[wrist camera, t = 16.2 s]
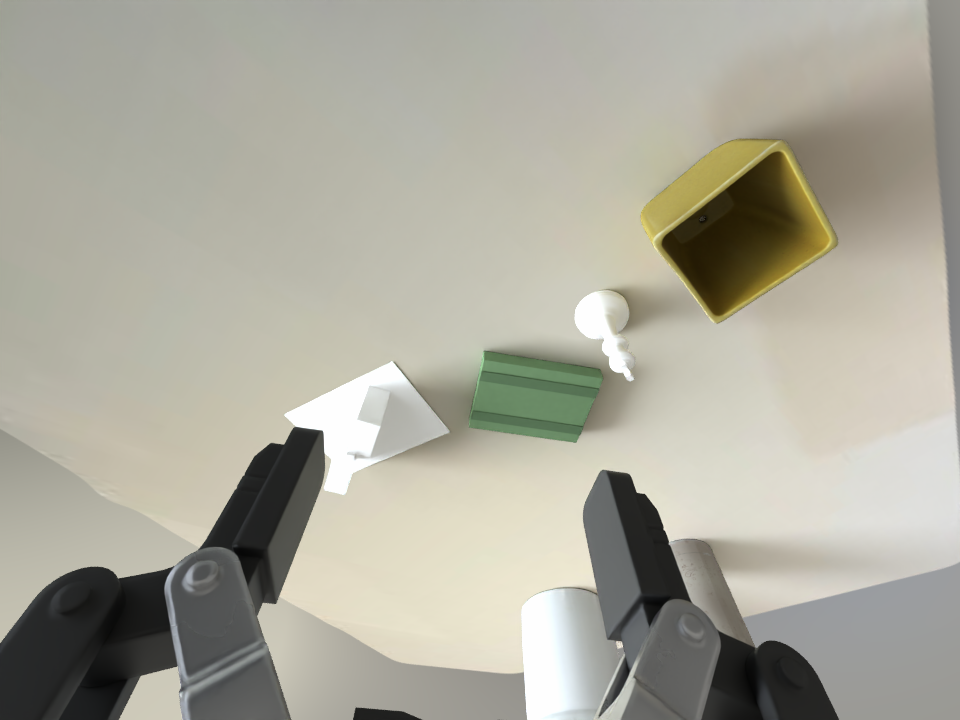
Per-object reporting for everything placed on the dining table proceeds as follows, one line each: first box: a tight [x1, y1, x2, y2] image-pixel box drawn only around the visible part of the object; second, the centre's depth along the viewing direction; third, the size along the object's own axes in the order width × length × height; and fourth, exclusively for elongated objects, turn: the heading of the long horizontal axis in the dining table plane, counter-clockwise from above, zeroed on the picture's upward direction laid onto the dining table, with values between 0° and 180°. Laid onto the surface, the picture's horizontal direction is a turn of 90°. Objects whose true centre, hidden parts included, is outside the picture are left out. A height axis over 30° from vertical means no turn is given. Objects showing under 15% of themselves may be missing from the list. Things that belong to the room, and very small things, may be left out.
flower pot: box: [641, 139, 838, 323], centre depth 32 cm, size 9×9×9 cm
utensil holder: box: [522, 588, 620, 720], centre depth 65 cm, size 15×15×18 cm
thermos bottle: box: [669, 539, 755, 647], centre depth 52 cm, size 8×8×28 cm
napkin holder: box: [284, 361, 450, 495], centre depth 48 cm, size 15×11×6 cm
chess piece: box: [575, 290, 636, 381], centre depth 37 cm, size 5×5×10 cm
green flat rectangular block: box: [469, 351, 603, 443], centre depth 46 cm, size 12×9×2 cm
